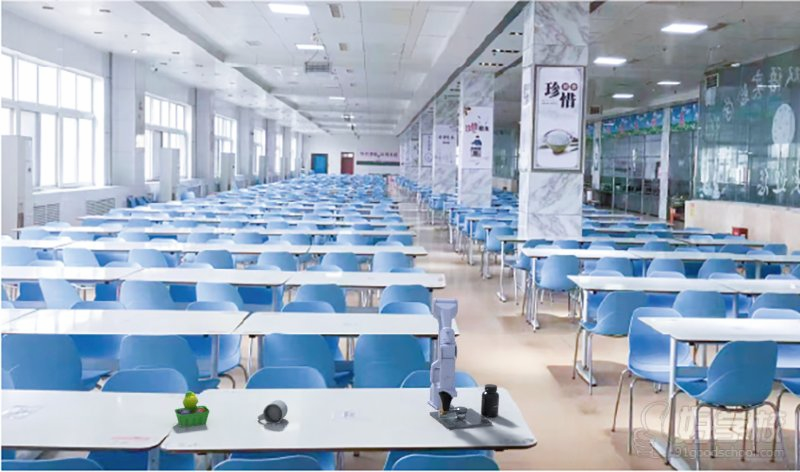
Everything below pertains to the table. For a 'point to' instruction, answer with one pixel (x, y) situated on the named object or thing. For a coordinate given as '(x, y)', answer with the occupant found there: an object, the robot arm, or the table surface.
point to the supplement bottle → (490, 401)
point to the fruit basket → (191, 412)
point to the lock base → (461, 419)
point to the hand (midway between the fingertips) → (445, 410)
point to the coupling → (454, 410)
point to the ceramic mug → (274, 412)
